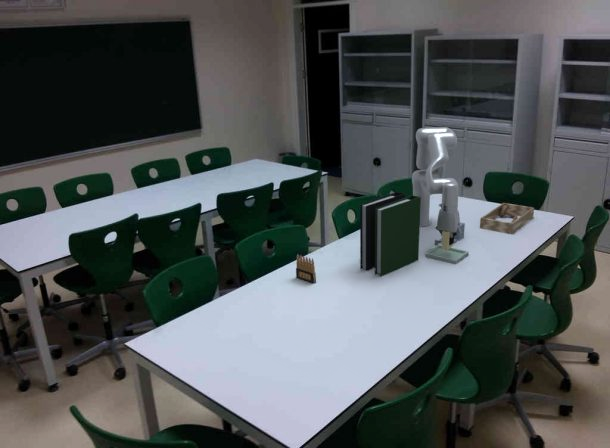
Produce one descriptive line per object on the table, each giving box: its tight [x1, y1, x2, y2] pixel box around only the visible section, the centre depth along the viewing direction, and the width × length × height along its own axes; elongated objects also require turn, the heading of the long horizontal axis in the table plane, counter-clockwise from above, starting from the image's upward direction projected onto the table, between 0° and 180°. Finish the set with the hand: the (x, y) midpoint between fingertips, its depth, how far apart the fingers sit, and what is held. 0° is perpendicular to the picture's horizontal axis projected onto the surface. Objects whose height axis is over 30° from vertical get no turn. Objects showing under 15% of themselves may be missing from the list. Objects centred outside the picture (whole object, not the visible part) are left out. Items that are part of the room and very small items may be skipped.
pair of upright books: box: [359, 191, 421, 278], centre depth 253 cm, size 27×15×32 cm, turn 132°
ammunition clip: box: [295, 253, 317, 284], centre depth 242 cm, size 11×2×12 cm, turn 48°
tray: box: [424, 244, 469, 265], centre depth 264 cm, size 16×14×2 cm
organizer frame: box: [479, 202, 535, 235], centre depth 306 cm, size 18×34×6 cm, turn 140°
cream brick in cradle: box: [441, 231, 455, 250], centre depth 262 cm, size 3×7×9 cm, turn 140°
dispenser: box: [434, 222, 466, 246], centre depth 282 cm, size 8×18×8 cm, turn 140°
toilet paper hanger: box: [499, 205, 518, 223], centre depth 308 cm, size 25×9×8 cm, turn 148°
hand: (447, 243), depth 262 cm, fingers closed on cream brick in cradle, 3 cm apart
